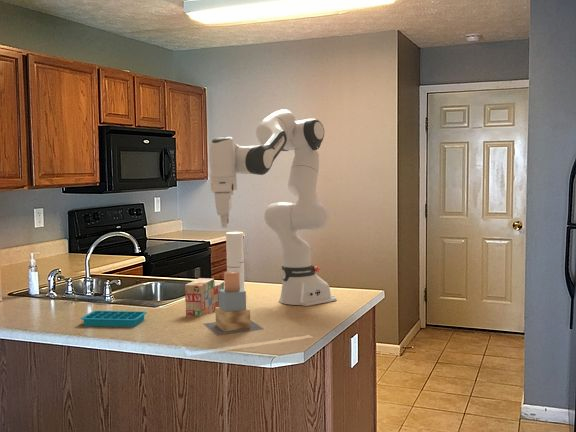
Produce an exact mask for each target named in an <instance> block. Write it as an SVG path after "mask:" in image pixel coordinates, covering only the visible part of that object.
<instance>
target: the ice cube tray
mask: <svg viewBox="0 0 576 432" xmlns="http://www.w3.org/2000/svg"><path fill="white" fill-rule="evenodd" d="M145 315H147V311H141V310H140V311H139V310H138V311H134V310H133V311H131V310H129V311H128V310H93V311H91V312H89V313H87V314H85V315H83V316H82V317H80V320H83V325H84V327H115V328H117V327H118V328H119V327H122V328H128V327H129V328H130V327H131V328H133V327H136V326H138V325H139V324H140V323H142V322H143V321H145Z"/></svg>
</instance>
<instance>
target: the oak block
mask: <svg viewBox="0 0 576 432" xmlns="http://www.w3.org/2000/svg"><path fill="white" fill-rule="evenodd" d="M214 314H215V322H216V325H217V326H218V327H219V328H221V329H222V330H223V331H231V330H238V329H246V328H251V325H250V320H251V310H250V309H249V308H248V307H246V310H239V311H230V312H225V311H224V310H222V309H221V308H219V307H215V311H214Z"/></svg>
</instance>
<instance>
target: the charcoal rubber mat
mask: <svg viewBox="0 0 576 432" xmlns="http://www.w3.org/2000/svg"><path fill="white" fill-rule="evenodd" d="M203 325H204V327H206V328H207V329H208V330H209V331H211V332H212V333H213V334H214V335H216V336H218V337H219V336H225V335H226V336H227V335H233V334H238V333H246V332H254V331H262V330H265V328H264V327H262V326H261V325H259V324H257V323H256V322H254V321H252V320H251V319H250V325H251V328H246V329H238V330H231V331H223V330H222V329H221V328H219V327H218V326H217V325H216V321H215V322H214V321H211V322H207V323H203Z"/></svg>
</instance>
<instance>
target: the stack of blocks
mask: <svg viewBox="0 0 576 432" xmlns="http://www.w3.org/2000/svg"><path fill="white" fill-rule="evenodd" d="M184 287H185V288H184V290H185V291H184V292H185V294H184V295H185V296H184V297H185V301H184V302H185V317H186V318H188V317H195V316H196V317H197V316H198V317H202V316H204V315H210V314H212V313H215V307H219V290H221V289H225V285H224V281H215V278H205V277H203V278H202V277H199V278H197V279H194V280H192V281H191V282H189V283H186V284H185V285H184Z"/></svg>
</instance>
